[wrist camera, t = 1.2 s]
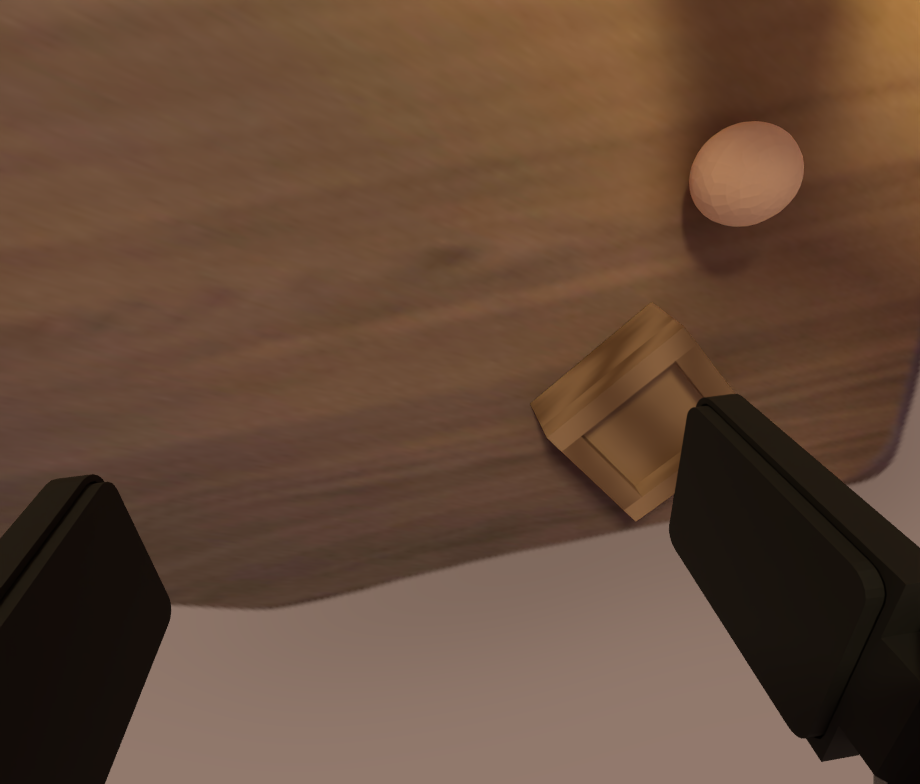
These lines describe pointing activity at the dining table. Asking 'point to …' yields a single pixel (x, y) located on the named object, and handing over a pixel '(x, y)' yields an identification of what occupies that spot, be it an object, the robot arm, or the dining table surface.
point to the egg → (746, 173)
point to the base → (631, 408)
